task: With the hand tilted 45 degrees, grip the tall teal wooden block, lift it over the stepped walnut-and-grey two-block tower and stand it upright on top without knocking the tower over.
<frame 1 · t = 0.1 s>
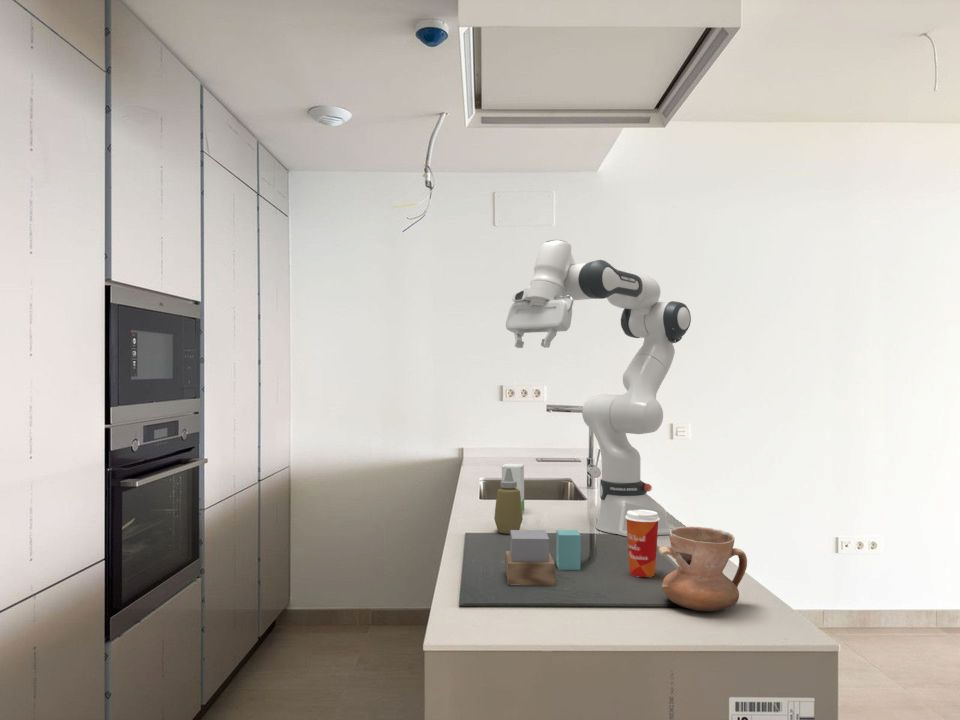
hand: (531, 347, 176), 52 cm above the counter, tool tilted 20°, fingers open, 8 cm apart
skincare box: (512, 513, 221), on the counter
grey top block: (529, 556, 153), point 5 cm above the counter, touching walnut base block
teal block: (568, 566, 162), on the counter
paper cup: (642, 575, 156), on the counter
ceramic jug: (703, 605, 136), on the counter
squeeze bottle: (508, 532, 195), on the counter
walnut base block: (529, 579, 152), on the counter, touching grey top block
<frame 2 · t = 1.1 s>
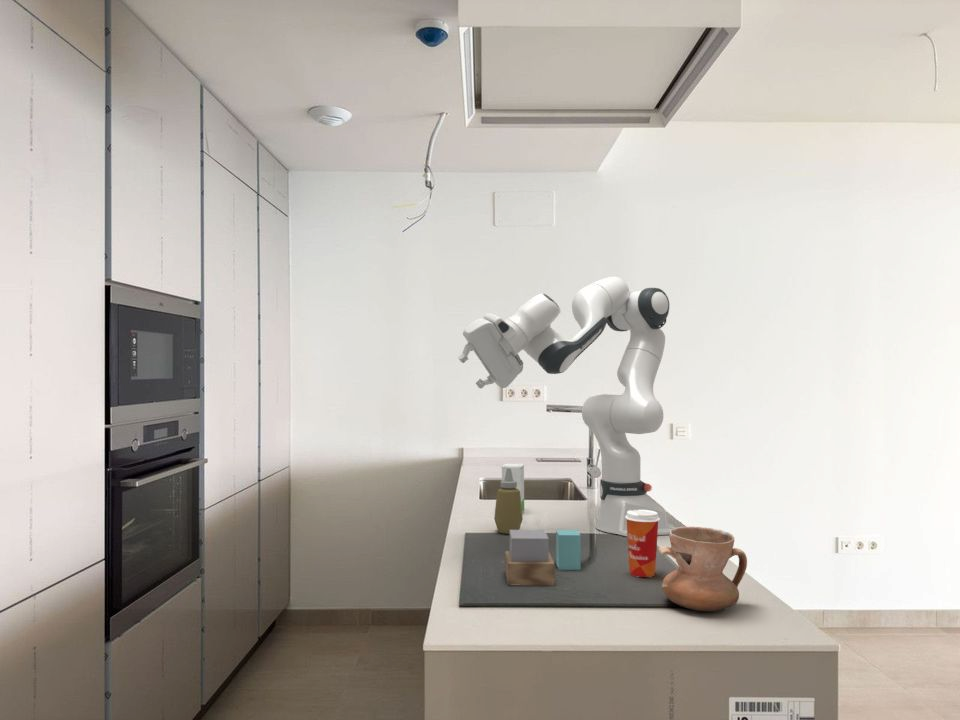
hand: (469, 373, 177), 45 cm above the counter, tool tilted 50°, fingers open, 8 cm apart
nothing on the counter moved.
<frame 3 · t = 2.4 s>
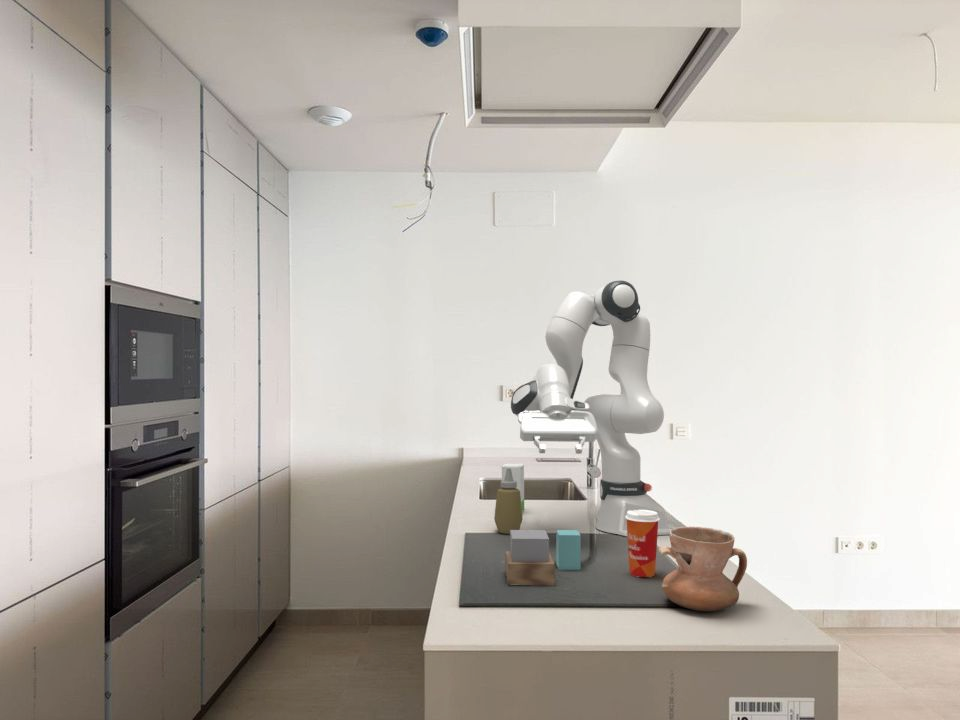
hand: (560, 452, 175), 25 cm above the counter, tool tilted 45°, fingers open, 8 cm apart
grey top block: (529, 556, 153), point 5 cm above the counter
walnut base block: (529, 580, 152), on the counter
everything else where it was.
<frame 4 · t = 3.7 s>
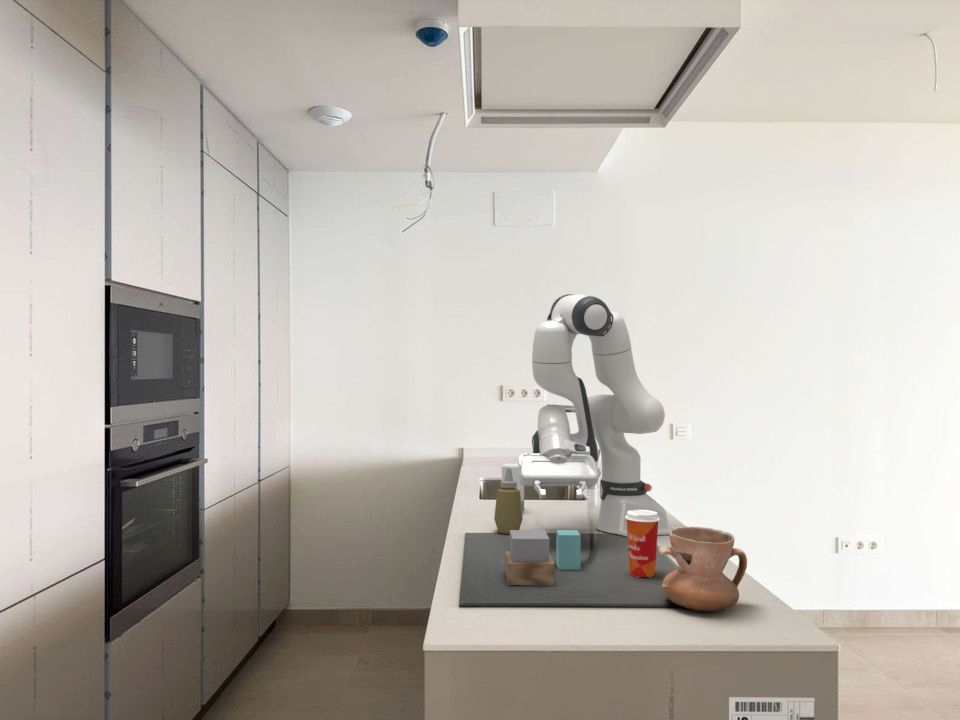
hand: (561, 497, 174), 14 cm above the counter, tool tilted 45°, fingers open, 8 cm apart
grey top block: (528, 557, 152), point 5 cm above the counter, touching walnut base block
walnut base block: (529, 579, 152), on the counter, touching grey top block
everything else where it was.
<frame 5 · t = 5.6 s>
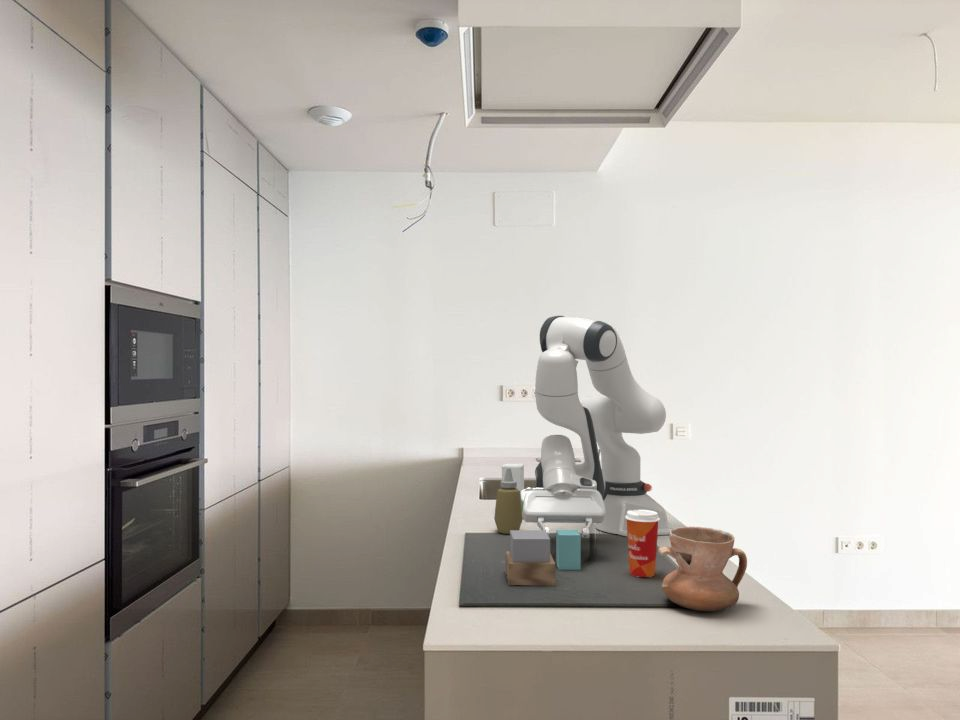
hand: (566, 536, 164), 7 cm above the counter, tool tilted 45°, fingers open, 8 cm apart
grey top block: (529, 557, 152), point 5 cm above the counter
walnut base block: (529, 579, 152), on the counter
everything else where it was.
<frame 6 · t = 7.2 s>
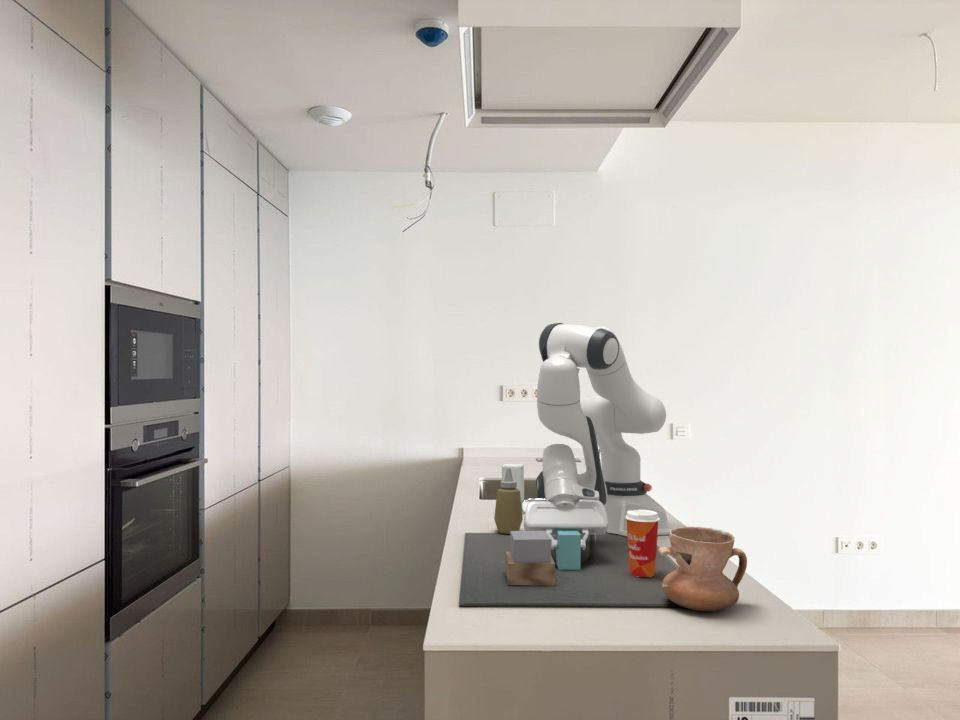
hand: (568, 548, 161), 4 cm above the counter, tool tilted 45°, fingers closed on teal block, 5 cm apart
teal block: (568, 566, 162), on the counter, touching gripper
everything else where it was.
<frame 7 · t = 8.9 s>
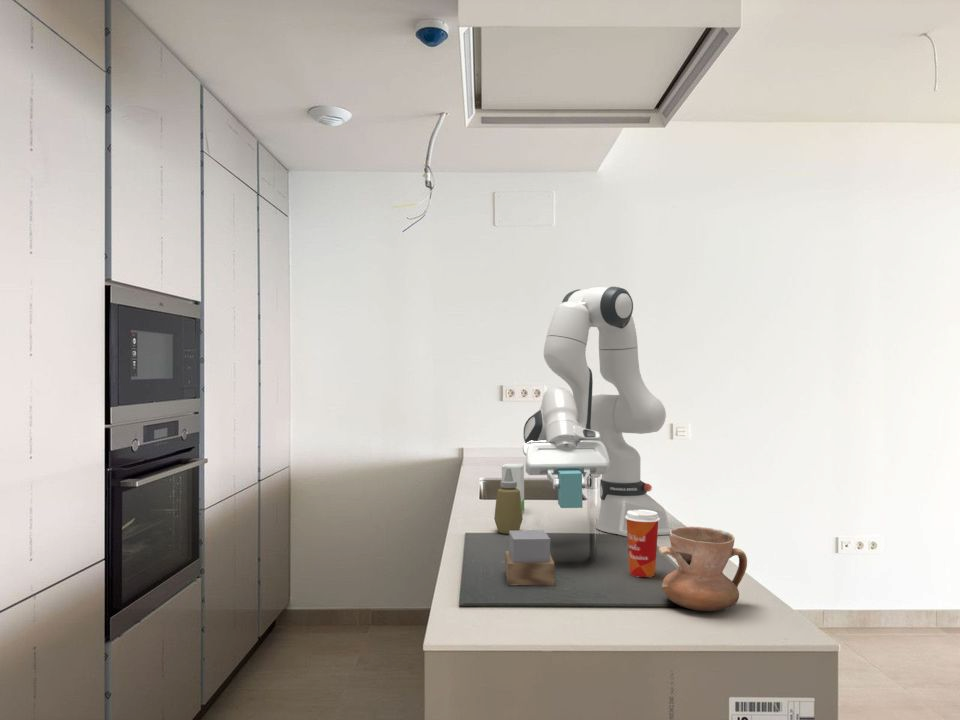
hand: (570, 487, 161), 19 cm above the counter, tool tilted 45°, fingers closed on teal block, 5 cm apart
grey top block: (529, 557, 152), point 5 cm above the counter, touching walnut base block
teal block: (570, 505, 162), point 14 cm above the counter, touching gripper
walnut base block: (529, 579, 152), on the counter, touching grey top block
everything else where it was.
when the fingers open (16 cm above the counter, at t = 12.5 s): teal block drops 2 cm, resting on grey top block.
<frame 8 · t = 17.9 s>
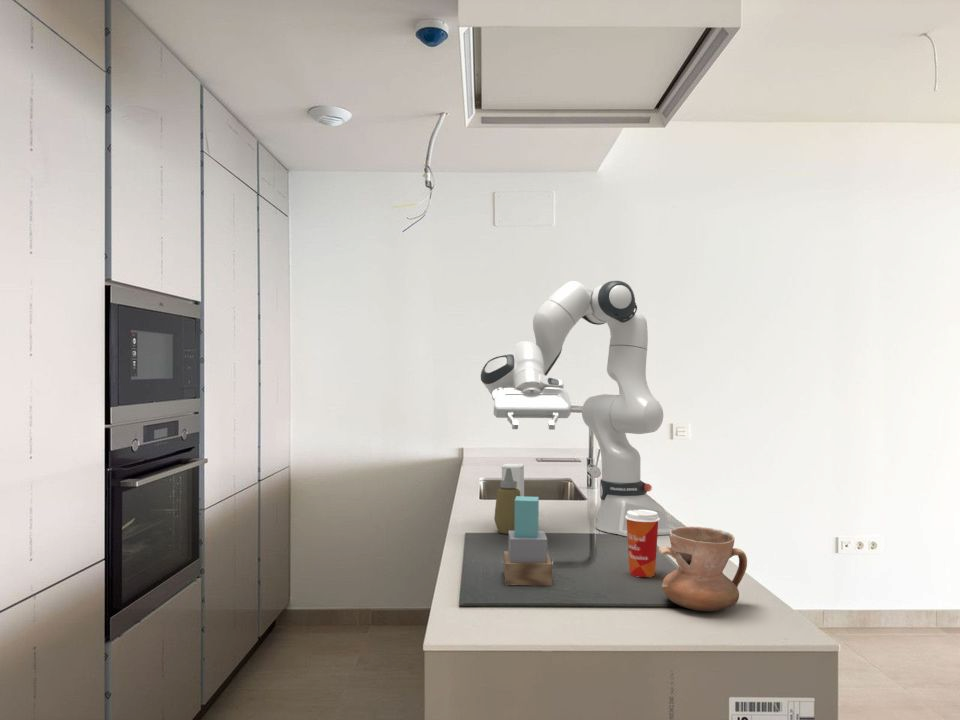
hand: (533, 427, 175), 31 cm above the counter, tool tilted 45°, fingers open, 8 cm apart
grey top block: (527, 557, 152), point 5 cm above the counter, touching teal block, walnut base block
teal block: (526, 534, 153), point 10 cm above the counter, touching grey top block
everything else where it was.
at the end: teal block 0.3 cm off-centre on the grey top block, point 5.0 cm above the grey top block's base; grey top block moved 0.6 cm from its start; teal block tilted 0° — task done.
